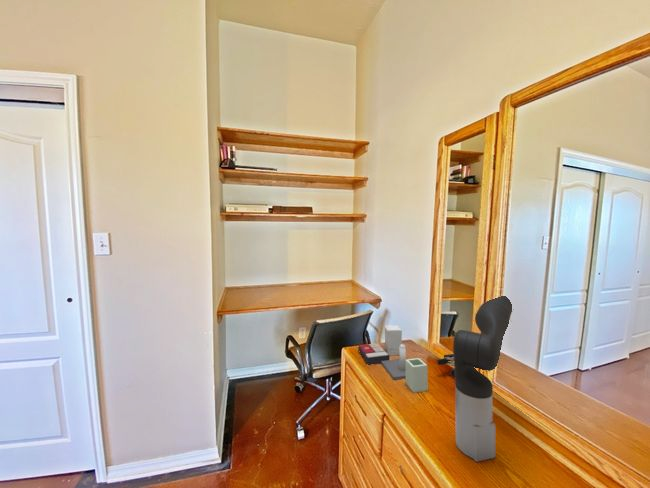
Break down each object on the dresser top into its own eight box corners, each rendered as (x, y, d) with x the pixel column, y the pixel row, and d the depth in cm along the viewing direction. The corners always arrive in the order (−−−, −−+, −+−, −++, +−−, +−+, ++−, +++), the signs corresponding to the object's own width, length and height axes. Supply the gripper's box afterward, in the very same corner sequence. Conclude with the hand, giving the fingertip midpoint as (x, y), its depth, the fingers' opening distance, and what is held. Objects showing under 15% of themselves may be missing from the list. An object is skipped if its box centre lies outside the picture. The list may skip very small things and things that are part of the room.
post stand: (422, 375, 113) (422, 347, 113) (393, 380, 111) (393, 351, 110) (406, 360, 127) (406, 334, 126) (381, 363, 125) (380, 337, 124)
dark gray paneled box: (378, 342, 140) (389, 353, 126) (378, 350, 140) (390, 363, 126) (357, 344, 138) (367, 356, 124) (358, 352, 138) (367, 365, 124)
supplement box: (402, 355, 132) (402, 330, 131) (387, 355, 133) (386, 330, 132) (399, 348, 139) (398, 324, 139) (384, 348, 140) (384, 325, 139)
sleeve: (427, 390, 103) (427, 365, 103) (413, 392, 102) (412, 367, 102) (419, 381, 109) (419, 357, 109) (405, 383, 108) (405, 359, 108)
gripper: (467, 346, 117) (433, 350, 114) (493, 361, 103) (455, 367, 100) (467, 362, 118) (433, 367, 115) (493, 380, 104) (455, 386, 101)
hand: (444, 367), depth 108 cm, fingers open, 8 cm apart
